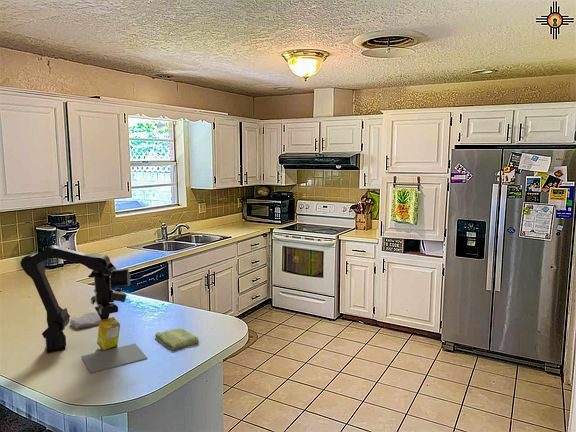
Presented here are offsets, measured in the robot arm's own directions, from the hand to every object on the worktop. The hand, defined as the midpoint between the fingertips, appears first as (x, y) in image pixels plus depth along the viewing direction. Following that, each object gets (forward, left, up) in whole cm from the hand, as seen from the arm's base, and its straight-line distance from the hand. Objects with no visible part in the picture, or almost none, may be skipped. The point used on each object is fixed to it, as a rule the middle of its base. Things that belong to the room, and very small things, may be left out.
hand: (105, 324), depth 174 cm
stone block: (-2, +30, -9) cm, 31 cm away
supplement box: (0, -2, -8) cm, 8 cm away
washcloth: (+25, -11, -10) cm, 29 cm away
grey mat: (0, -13, -9) cm, 16 cm away
